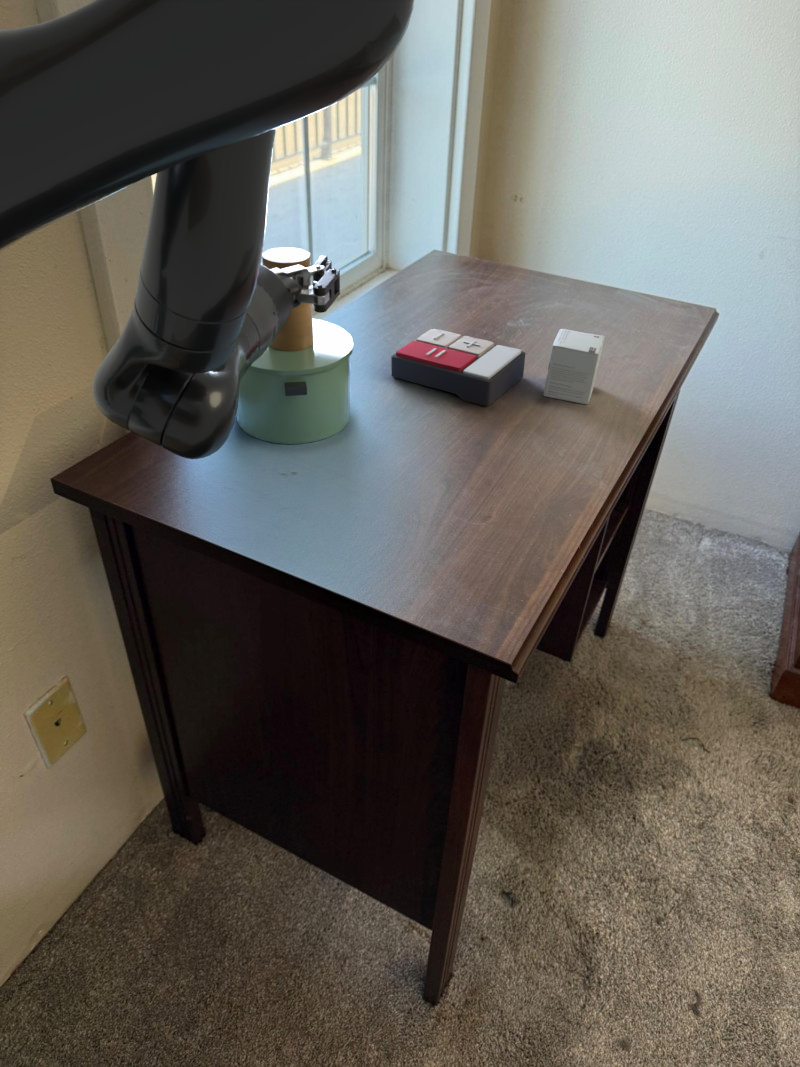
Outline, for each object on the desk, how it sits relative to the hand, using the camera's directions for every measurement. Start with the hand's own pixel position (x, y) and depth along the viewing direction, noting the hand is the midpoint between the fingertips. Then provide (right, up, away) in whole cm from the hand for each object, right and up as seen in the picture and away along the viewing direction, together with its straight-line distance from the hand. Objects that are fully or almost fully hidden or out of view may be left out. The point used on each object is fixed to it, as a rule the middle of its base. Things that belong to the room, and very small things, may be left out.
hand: (286, 260), depth 82 cm
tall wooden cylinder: (0, -8, +5) cm, 9 cm away
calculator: (+20, -9, +20) cm, 30 cm away
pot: (-1, -15, +10) cm, 19 cm away
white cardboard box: (+35, -11, +18) cm, 41 cm away
